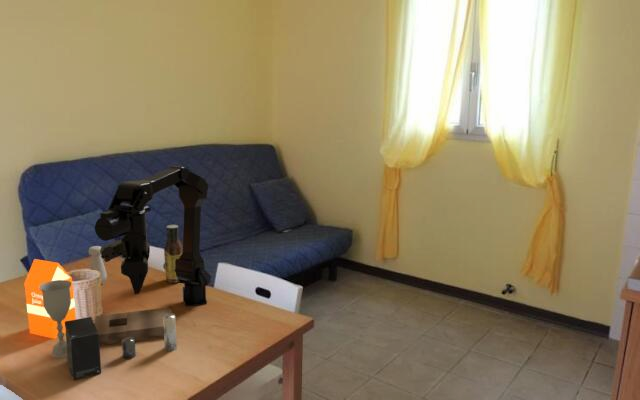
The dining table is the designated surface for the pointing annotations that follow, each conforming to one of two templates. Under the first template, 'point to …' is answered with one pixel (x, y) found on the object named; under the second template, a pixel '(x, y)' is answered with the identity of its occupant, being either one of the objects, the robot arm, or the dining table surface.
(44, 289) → the chalice
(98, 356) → the small box
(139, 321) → the pin board
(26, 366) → the dining table surface
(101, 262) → the salt shaker
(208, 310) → the dining table surface
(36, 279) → the orange juice
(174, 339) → the long pin
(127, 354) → the short pin
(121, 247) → the robot arm
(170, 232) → the sauce bottle
